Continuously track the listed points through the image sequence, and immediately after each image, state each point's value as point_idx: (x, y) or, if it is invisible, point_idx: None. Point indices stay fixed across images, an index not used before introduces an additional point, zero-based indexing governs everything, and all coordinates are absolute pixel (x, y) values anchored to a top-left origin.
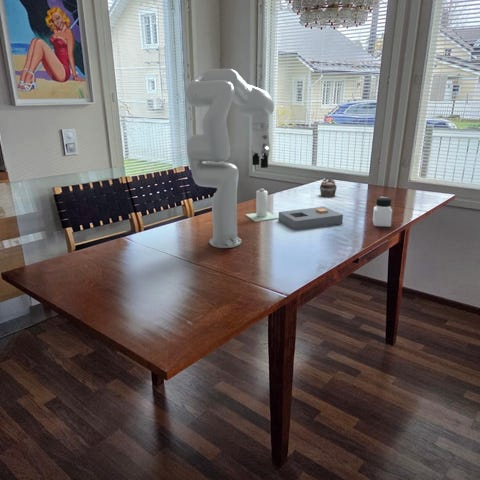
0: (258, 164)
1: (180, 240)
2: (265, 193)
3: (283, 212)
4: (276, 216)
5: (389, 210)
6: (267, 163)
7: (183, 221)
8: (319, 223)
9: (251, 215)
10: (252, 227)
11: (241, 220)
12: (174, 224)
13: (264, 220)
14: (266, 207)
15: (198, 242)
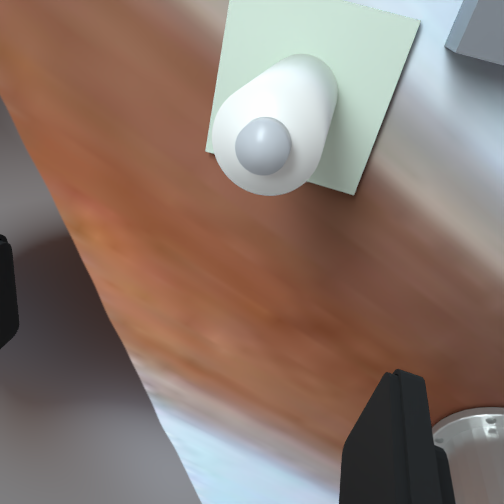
0: (10, 249)
1: None
2: (324, 139)
3: (500, 28)
4: (383, 11)
5: None
6: (429, 448)
7: (148, 384)
8: None
9: None
10: (421, 264)
11: (277, 226)
12: (167, 417)
13: (376, 134)
14: (331, 94)
15: None
